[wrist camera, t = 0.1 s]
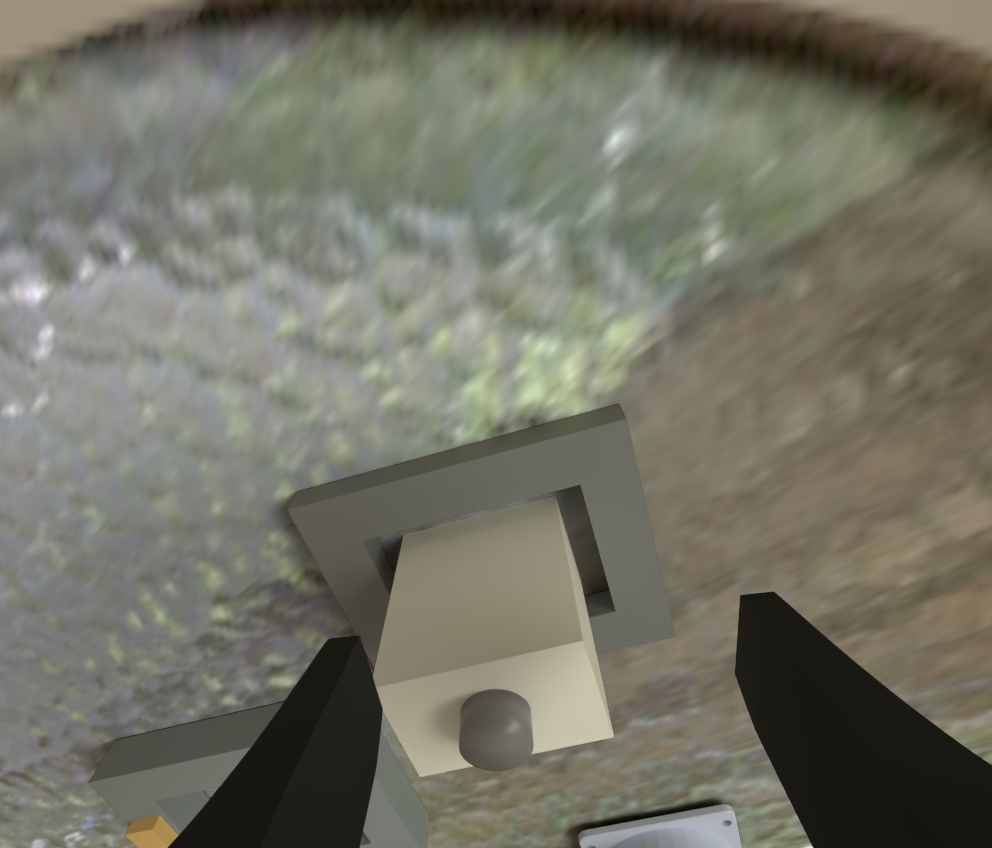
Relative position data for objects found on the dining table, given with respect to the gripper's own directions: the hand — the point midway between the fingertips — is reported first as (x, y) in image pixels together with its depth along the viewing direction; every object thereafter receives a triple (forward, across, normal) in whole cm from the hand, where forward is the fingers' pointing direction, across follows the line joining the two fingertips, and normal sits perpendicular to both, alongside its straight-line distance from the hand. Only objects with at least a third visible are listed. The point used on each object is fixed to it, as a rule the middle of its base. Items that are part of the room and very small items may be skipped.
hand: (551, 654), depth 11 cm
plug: (+10, +2, +6) cm, 12 cm away
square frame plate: (+10, +2, +6) cm, 12 cm away
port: (+10, +14, +18) cm, 25 cm away
